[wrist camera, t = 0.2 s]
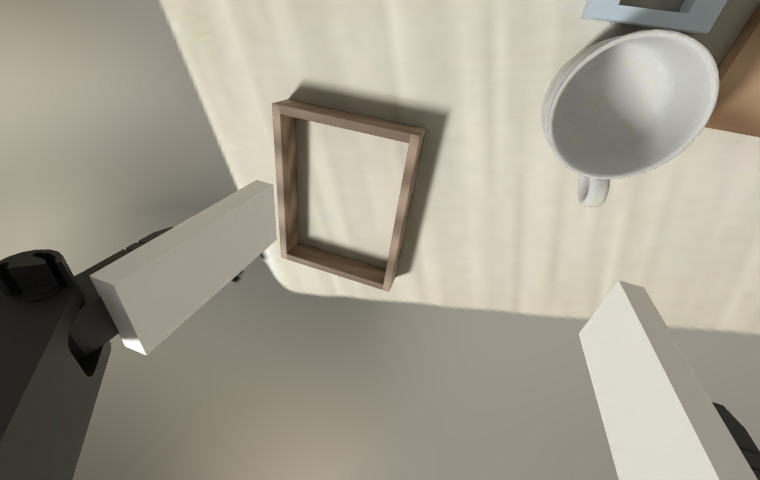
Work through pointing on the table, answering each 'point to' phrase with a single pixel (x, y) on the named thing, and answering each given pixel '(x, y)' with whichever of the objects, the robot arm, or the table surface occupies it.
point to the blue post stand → (658, 15)
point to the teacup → (628, 106)
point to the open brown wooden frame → (288, 188)
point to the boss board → (740, 84)
